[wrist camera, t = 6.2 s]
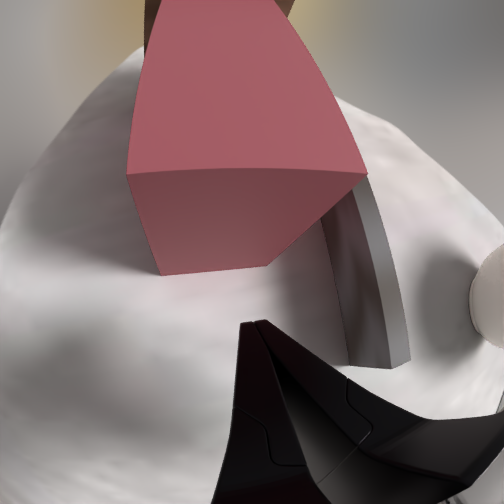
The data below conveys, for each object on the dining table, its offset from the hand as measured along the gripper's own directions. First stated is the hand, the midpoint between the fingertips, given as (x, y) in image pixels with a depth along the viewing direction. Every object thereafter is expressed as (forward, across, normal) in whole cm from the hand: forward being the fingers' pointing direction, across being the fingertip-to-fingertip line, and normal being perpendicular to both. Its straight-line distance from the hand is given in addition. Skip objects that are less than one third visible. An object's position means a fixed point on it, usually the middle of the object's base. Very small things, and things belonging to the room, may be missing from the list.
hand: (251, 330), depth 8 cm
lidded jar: (+2, -26, +7) cm, 27 cm away
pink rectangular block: (+12, 0, -3) cm, 12 cm away
